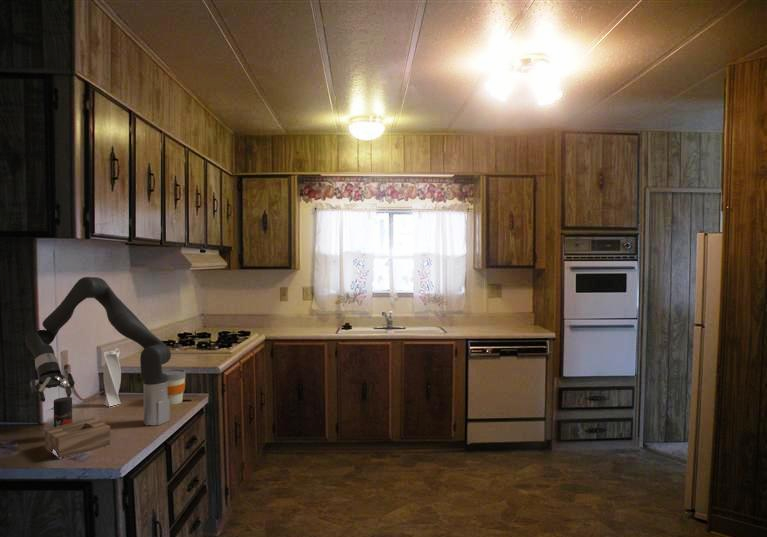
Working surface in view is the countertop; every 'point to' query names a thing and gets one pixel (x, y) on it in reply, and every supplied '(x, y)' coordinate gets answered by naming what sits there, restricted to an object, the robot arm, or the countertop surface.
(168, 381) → the reusable coffee cup
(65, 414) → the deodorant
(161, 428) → the countertop surface
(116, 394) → the skyscraper
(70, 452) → the socket block
